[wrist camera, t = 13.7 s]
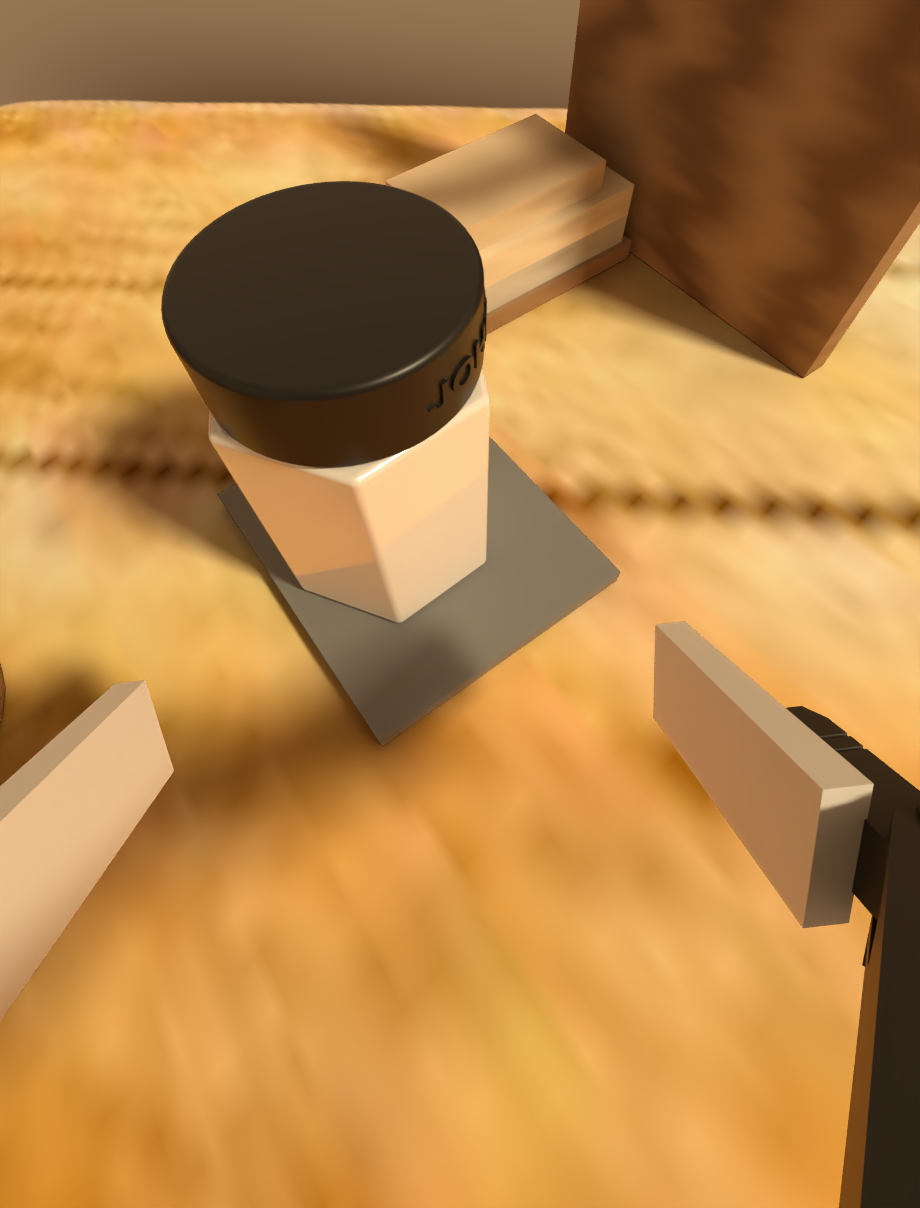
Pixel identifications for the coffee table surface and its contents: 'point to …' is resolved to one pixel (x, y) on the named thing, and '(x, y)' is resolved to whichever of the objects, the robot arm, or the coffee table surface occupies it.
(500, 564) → the rubber mat
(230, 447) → the jar
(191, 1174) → the coffee table surface
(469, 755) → the coffee table surface
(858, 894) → the robot arm
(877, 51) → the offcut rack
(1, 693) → the wooden mug
